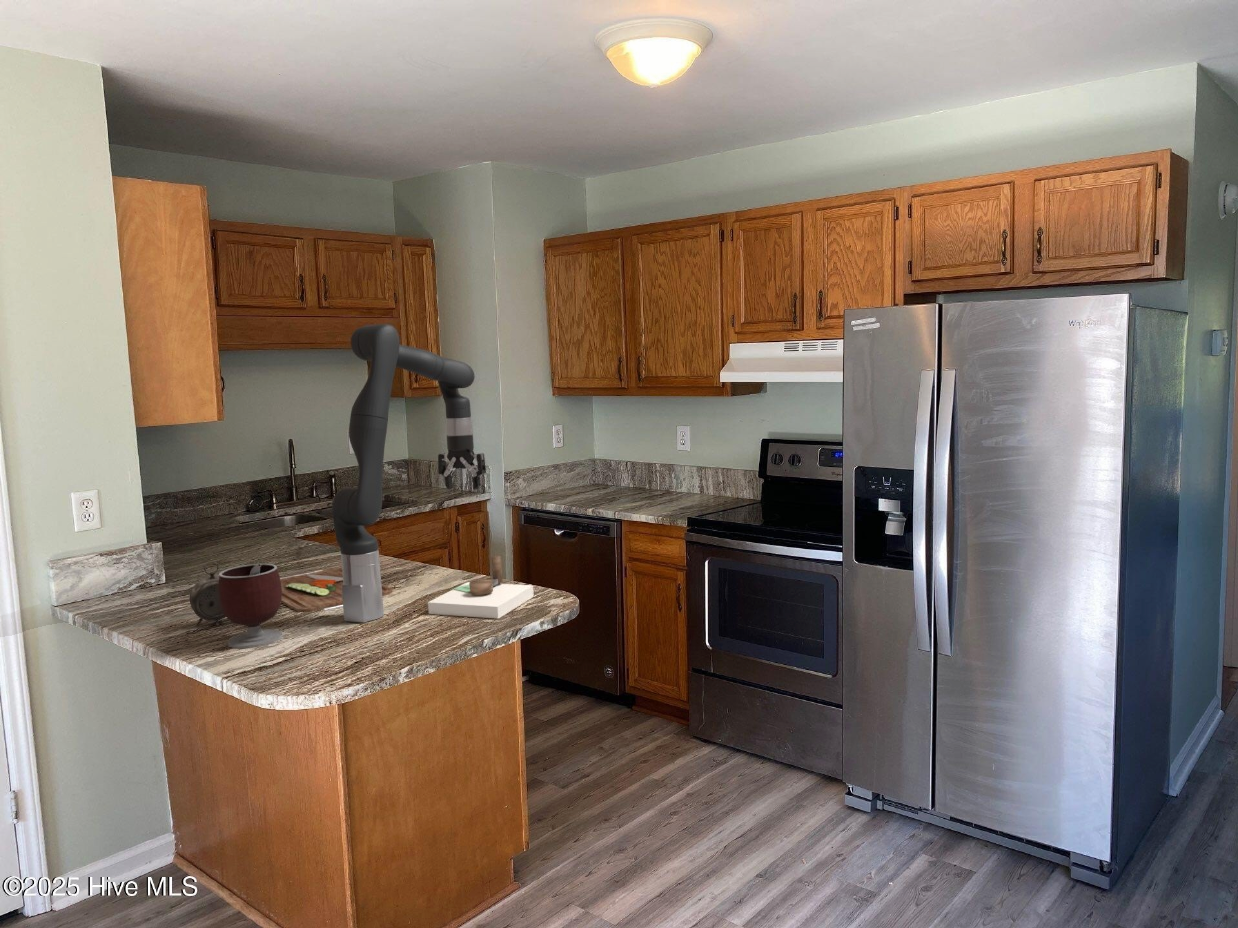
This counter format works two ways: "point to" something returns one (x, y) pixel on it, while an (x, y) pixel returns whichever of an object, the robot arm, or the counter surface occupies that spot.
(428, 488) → the counter surface
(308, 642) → the counter surface
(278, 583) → the mate gourd
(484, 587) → the crank handle
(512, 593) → the white square slab
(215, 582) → the alarm clock
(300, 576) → the chopping board
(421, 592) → the counter surface
